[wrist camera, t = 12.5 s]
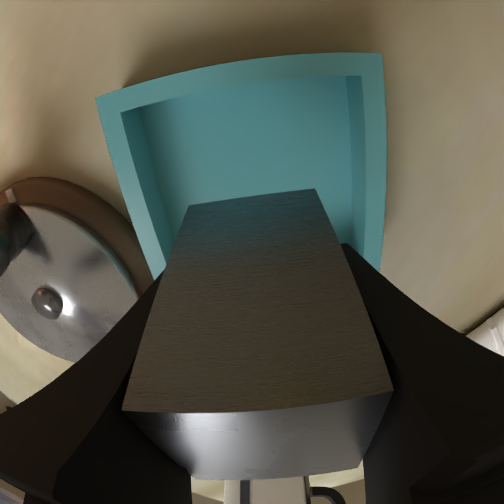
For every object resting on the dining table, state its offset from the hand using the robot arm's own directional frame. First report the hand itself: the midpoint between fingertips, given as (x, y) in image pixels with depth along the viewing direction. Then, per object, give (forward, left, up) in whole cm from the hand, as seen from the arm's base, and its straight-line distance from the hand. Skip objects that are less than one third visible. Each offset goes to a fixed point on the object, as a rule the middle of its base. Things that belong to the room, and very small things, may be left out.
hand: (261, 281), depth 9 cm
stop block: (0, 0, -2) cm, 2 cm away
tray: (0, 0, -8) cm, 8 cm away
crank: (-5, +15, -7) cm, 17 cm away
